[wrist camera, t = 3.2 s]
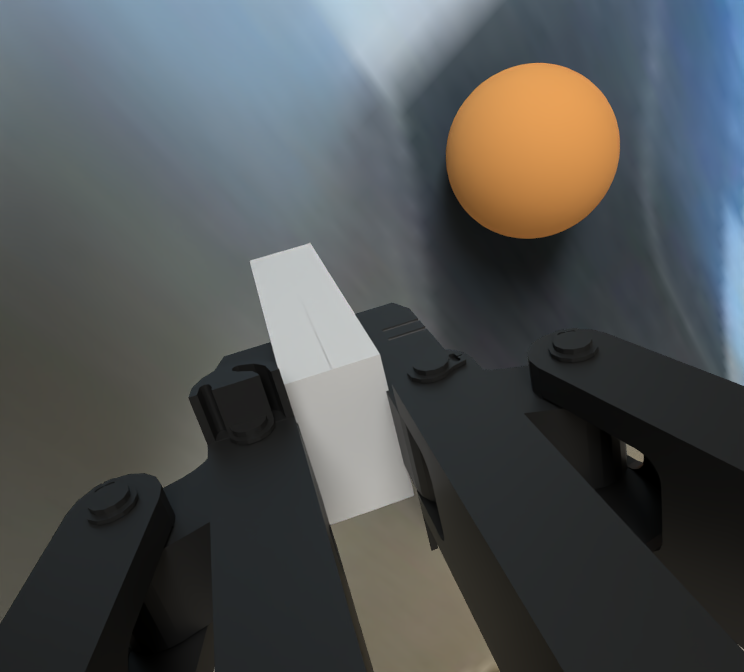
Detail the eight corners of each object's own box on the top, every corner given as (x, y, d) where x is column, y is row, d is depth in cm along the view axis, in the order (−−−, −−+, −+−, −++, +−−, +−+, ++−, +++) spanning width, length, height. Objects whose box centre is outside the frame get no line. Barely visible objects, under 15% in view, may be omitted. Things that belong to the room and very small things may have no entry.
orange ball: (437, 235, 26) (499, 280, 21) (410, 84, 24) (473, 90, 18) (568, 196, 27) (660, 229, 22) (556, 45, 25) (657, 41, 19)
